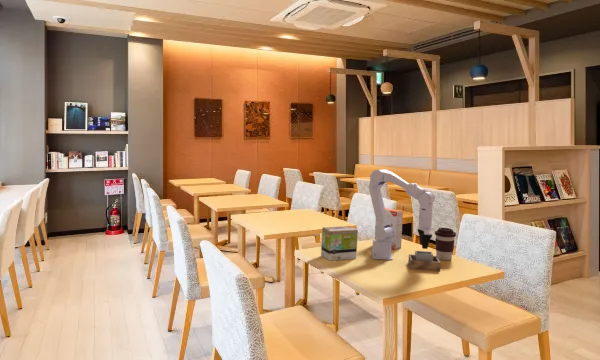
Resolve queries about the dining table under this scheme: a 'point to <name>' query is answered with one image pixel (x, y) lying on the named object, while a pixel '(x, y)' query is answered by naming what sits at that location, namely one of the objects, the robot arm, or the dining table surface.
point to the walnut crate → (424, 264)
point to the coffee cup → (444, 243)
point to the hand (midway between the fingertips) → (423, 246)
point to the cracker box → (395, 226)
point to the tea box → (339, 243)
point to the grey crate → (423, 256)
